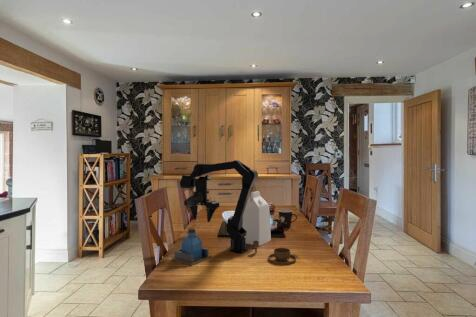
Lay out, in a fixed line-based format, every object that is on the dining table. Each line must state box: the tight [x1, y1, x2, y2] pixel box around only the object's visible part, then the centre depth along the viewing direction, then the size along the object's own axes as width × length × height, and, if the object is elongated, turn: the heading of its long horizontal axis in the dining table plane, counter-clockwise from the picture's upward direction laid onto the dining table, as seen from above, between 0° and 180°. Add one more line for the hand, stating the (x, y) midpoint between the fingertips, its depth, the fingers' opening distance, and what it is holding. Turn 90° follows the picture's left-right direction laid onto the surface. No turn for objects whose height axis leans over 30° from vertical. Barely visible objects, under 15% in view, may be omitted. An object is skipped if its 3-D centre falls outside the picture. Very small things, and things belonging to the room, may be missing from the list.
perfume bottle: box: [181, 227, 203, 259], centre depth 135 cm, size 6×6×12 cm
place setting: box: [253, 241, 300, 266], centre depth 136 cm, size 18×20×6 cm
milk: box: [242, 190, 272, 247], centre depth 161 cm, size 12×12×26 cm
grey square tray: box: [171, 247, 212, 267], centre depth 135 cm, size 12×12×4 cm
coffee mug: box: [278, 209, 298, 229], centre depth 192 cm, size 12×9×10 cm
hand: (201, 220), depth 151 cm, fingers open, 9 cm apart
